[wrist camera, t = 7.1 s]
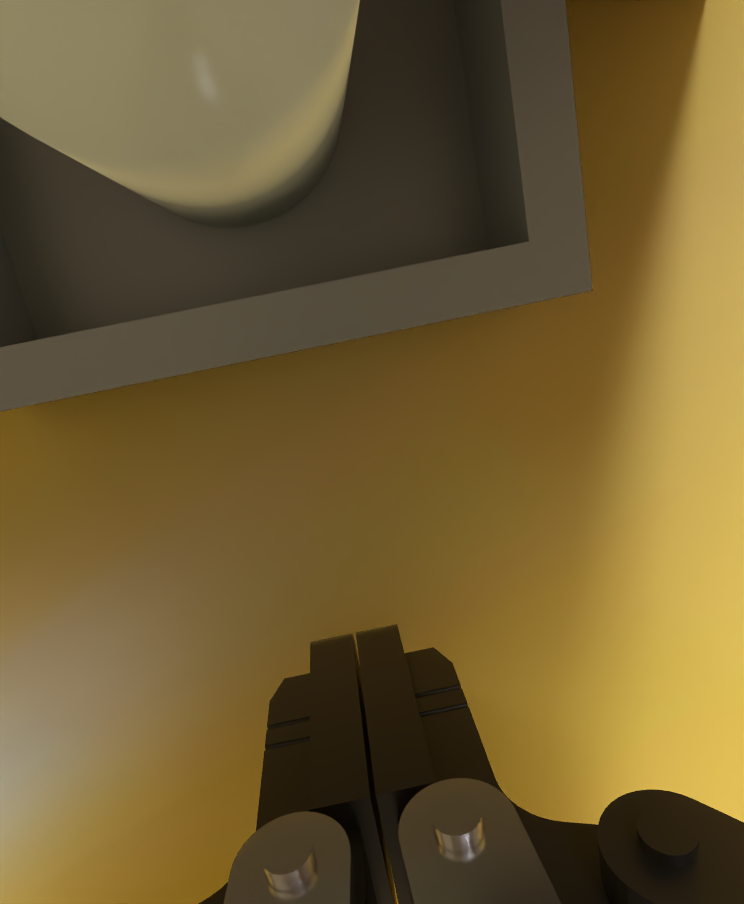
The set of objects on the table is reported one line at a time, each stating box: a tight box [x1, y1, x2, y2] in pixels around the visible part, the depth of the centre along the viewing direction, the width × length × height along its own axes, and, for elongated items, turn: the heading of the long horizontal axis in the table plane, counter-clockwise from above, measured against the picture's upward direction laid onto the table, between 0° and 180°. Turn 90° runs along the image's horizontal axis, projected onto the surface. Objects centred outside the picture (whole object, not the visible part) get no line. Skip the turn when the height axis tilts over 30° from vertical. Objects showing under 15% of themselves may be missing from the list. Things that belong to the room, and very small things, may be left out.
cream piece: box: [0, 0, 360, 228], centre depth 7 cm, size 4×4×5 cm
